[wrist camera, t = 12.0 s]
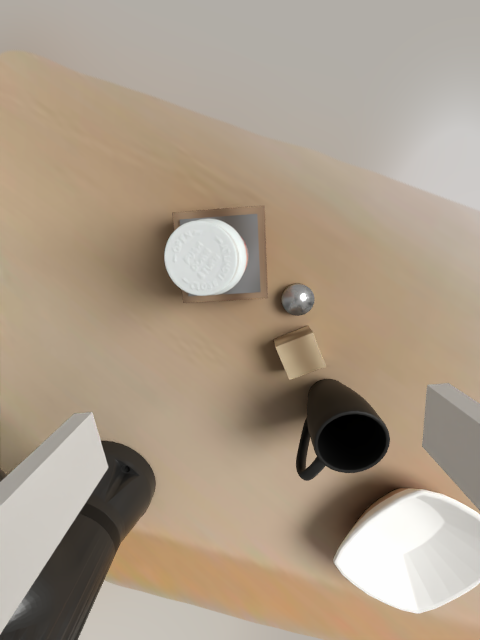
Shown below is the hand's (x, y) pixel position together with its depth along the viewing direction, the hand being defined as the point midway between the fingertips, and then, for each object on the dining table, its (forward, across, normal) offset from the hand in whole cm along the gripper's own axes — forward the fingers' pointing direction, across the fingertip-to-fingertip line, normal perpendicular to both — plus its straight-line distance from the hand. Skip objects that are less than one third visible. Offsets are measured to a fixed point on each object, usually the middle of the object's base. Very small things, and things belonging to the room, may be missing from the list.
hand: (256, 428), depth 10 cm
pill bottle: (+21, -3, +7) cm, 22 cm away
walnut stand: (+25, -3, +7) cm, 26 cm away
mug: (+25, +8, -16) cm, 31 cm away
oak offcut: (+25, +6, -7) cm, 26 cm away
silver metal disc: (+25, +6, 0) cm, 25 cm away
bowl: (+25, +21, -40) cm, 51 cm away
